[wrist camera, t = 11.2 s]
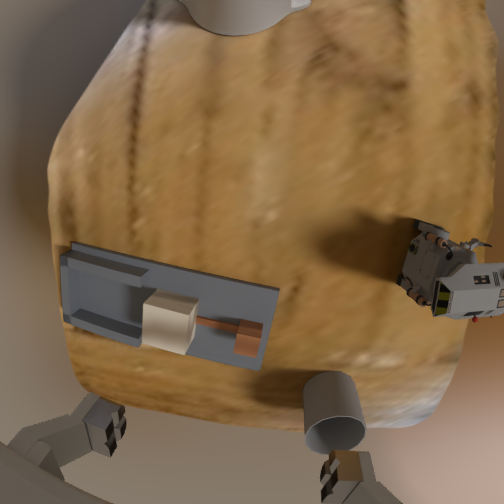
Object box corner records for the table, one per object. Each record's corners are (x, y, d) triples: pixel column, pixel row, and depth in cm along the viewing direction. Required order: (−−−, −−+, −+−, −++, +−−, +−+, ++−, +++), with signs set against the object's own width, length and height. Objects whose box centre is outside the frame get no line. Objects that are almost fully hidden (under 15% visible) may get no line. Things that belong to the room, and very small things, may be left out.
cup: (339, 414, 47) (346, 458, 37) (294, 403, 47) (294, 449, 37) (364, 377, 44) (377, 421, 35) (316, 364, 44) (322, 409, 35)
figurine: (451, 294, 39) (504, 345, 25) (385, 279, 40) (427, 334, 26) (471, 235, 37) (536, 267, 23) (404, 213, 37) (462, 240, 23)
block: (157, 288, 42) (143, 303, 38) (265, 313, 42) (262, 332, 37) (155, 325, 44) (141, 342, 39) (256, 350, 43) (253, 371, 39)
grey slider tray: (75, 241, 43) (60, 248, 39) (279, 288, 42) (278, 300, 38) (77, 316, 47) (64, 326, 43) (260, 367, 45) (257, 383, 41)
